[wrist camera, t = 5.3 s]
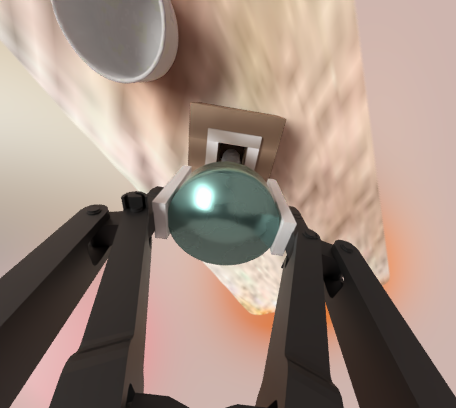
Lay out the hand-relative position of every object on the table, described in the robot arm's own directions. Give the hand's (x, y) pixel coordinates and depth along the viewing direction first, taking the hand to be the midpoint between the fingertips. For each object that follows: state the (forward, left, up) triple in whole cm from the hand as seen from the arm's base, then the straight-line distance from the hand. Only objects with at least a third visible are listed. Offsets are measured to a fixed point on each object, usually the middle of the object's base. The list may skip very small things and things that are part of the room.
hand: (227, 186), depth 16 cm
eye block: (0, 0, -16) cm, 16 cm away
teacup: (-13, -15, -16) cm, 25 cm away
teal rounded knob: (0, 0, -9) cm, 9 cm away
